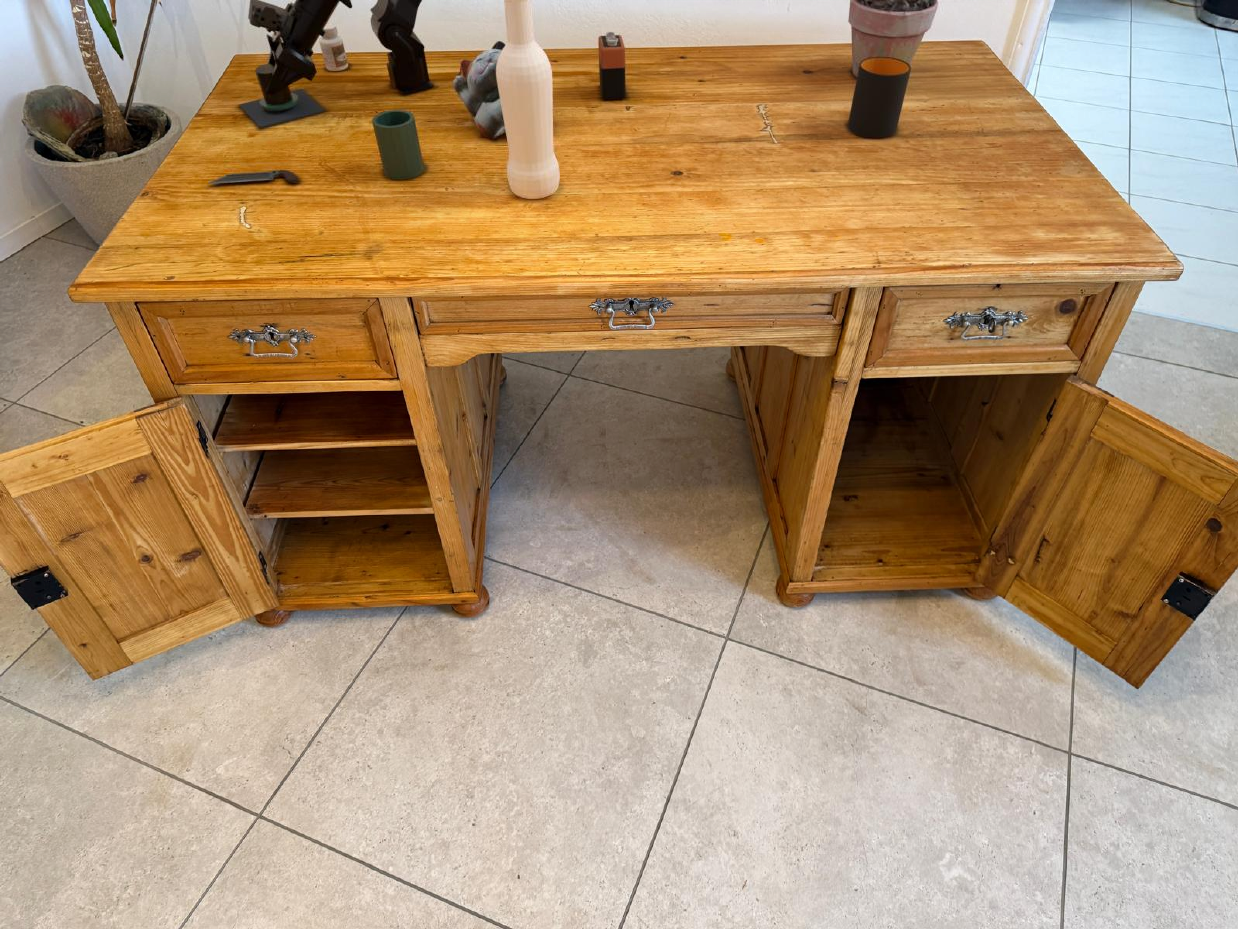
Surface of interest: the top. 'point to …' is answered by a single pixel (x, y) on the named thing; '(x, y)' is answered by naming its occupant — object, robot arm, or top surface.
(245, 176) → the knife
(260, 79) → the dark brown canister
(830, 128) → the top surface
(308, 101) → the mat
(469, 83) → the lucky cat figurine
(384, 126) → the can
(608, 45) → the battery
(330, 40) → the pill bottle
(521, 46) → the bottle
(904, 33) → the potted plant
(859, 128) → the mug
